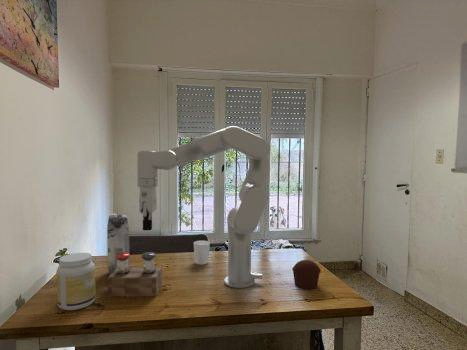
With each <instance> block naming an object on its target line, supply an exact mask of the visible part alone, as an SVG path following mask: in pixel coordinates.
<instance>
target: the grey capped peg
mask: <svg viewBox="0 0 467 350" xmlns="http://www.w3.org/2000/svg"><path fill="white" fill-rule="evenodd" d="M155 258H156V253H155V251H154V252H153V251H147V252H143V253H141V259H142V260H143V261H142V263H143V266H142V267H143V271H144V274H154V267H155Z"/></svg>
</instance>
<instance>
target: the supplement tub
mask: <svg viewBox="0 0 467 350" xmlns="http://www.w3.org/2000/svg"><path fill="white" fill-rule="evenodd" d="M95 269H96V266H95V263H94V261H93V256H92V254H91V253H89V252H73V253H69V254H65V255H63V256H61V257H60V258H58V267H57V269H56V291H57V295H56V296H57V306H58V308H60V309H61V310H63V311H76V310H81V309H83V308H87V307H88V306H91V305H92V304H94V302H95V301H96V270H95Z"/></svg>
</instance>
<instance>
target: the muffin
mask: <svg viewBox="0 0 467 350" xmlns="http://www.w3.org/2000/svg"><path fill="white" fill-rule="evenodd" d="M291 270H292V273H293V274H292V275H293V280H294V285H295V287H296V288H297V289H302V290H303V291H305V290H308V291H311V290H315V289H317V287H318V284H319V278H320V274H321V272H322V270H321V268H320V267H319V265H318V264H317V263H316V262H314V261H313V260H309V259H302V260H300V261H298V262H296V263H295V264H294V266H293V267H292V269H291Z"/></svg>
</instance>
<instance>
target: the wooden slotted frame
mask: <svg viewBox="0 0 467 350" xmlns="http://www.w3.org/2000/svg"><path fill="white" fill-rule="evenodd" d="M106 282H107V284H106V285H107V287H106V288H107V290H106V291H107V298H113V297H112V296H123V297H124V296H126V297H127V298H128V297H129V296H131V297H157V296H158V293H159V291H160V289H161V286H162V284H163V267H162V266H154V274H144V271H143V266H131V267H130V266H129V267H128V274H127V275H117V268H116V269H115V270H114V272H113V273H112V274H111V275H108V277H107V278H106ZM123 297H122V298H123ZM126 297H124V298H126Z"/></svg>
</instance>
